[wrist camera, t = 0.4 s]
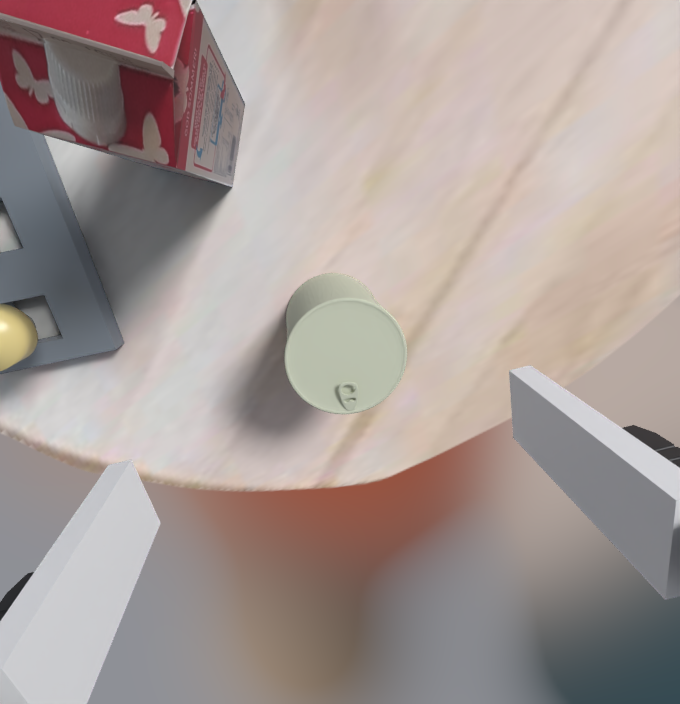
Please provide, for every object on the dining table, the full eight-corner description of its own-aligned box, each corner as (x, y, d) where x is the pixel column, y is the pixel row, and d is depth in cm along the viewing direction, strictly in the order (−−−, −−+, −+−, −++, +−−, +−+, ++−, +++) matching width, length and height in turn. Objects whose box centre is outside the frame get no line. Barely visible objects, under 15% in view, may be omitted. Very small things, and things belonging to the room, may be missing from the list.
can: (292, 368, 42) (292, 426, 31) (279, 278, 39) (274, 306, 28) (380, 357, 43) (412, 409, 32) (375, 268, 40) (407, 291, 29)
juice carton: (232, 187, 36) (152, 159, 16) (152, 166, 35) (-47, 108, 15) (244, 103, 34) (173, -54, 14) (161, 79, 33) (-55, -133, 13)
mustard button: (-23, 304, 34) (-68, 318, 30) (36, 292, 34) (0, 304, 30) (4, 358, 36) (-35, 378, 31) (60, 346, 36) (29, 365, 32)
